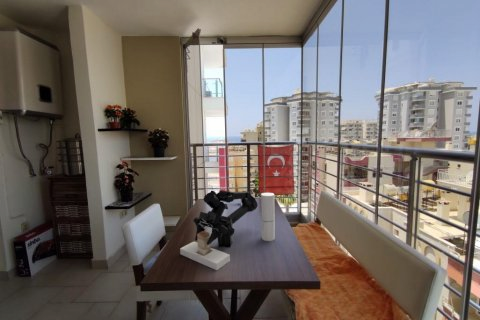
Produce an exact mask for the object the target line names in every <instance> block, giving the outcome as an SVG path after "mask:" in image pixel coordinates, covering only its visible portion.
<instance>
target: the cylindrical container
mask: <svg viewBox="0 0 480 320" xmlns="http://www.w3.org/2000/svg"><path fill="white" fill-rule="evenodd" d="M260 194H261V195H260V201H261V203H260V204H261V206H260V207H261V208H260V209H261V210H260V211H261V240H262V241H264V242H272V241H275V238H276V237H275V236H276V235H275V234H276V233H275V232H276V230H275V229H276V228H275V227H276V226H275V224H276V222H275V218H276V217H275V214H276V212H275V210H276V209H275V193H273V192H262V193H260Z"/></svg>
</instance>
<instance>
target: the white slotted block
mask: <svg viewBox="0 0 480 320" xmlns="http://www.w3.org/2000/svg"><path fill="white" fill-rule="evenodd" d="M179 249H180V250H179V253H180V255H181V256H183V257H186V258H188V259H190V260H192V261H195V262H196V263H197V262H198V263H199V264H202V265H204V266H205V267H209V268H211V269H212V270H215V271H218V270H220V269H221V268H222V267H224V266H226V264H228V263H230V261H231V255H230V254H229V253H226V252H224V251H221V250H218V249H216V248H212V247H210V253H208V254H207V255H205V256H203V255H200V254H198V241H191V242H190V243H188V244H186V245H184V246H182V247H181V248H179Z"/></svg>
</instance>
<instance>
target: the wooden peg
mask: <svg viewBox="0 0 480 320" xmlns="http://www.w3.org/2000/svg"><path fill="white" fill-rule="evenodd" d="M210 235H211V234H210V232H207V231H206V230H205V231H202V232H200V233H198V234H197V239H198V240H197V243H198V254H200V255H203V256H205V255H207V254H208V253H210V248H211V243H210V244H209V245H207V242H208V239H209V237H210Z"/></svg>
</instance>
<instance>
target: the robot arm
mask: <svg viewBox="0 0 480 320" xmlns="http://www.w3.org/2000/svg"><path fill="white" fill-rule="evenodd" d="M239 199H242V200H241V201H240V203H242V206H241V205H240V206H239V207H237V209H236V210H234V211H233V212H231V213H230V214H229V215H228V216H225V215H223V213H224V212H225V210H229V206H228V203H231V202H234V200H235V201H236V200H239ZM203 202H204V203H205V204H206V205H208V207H210V208H211V210H208V212H203V211H200V212H199V215H198V217H194V219H193V220H192V223H194V225H195V227H196V232H195V238H194V239H195V242H198V239H197V234H198V233H200V232H202V231H205V232H206V228H210V229H211V233H210V234H209V235H210V237H209V239H208V242H207V245H209V244H210V245H211V244H212V243H213V242H214V241H215V240H216V239H217V244H218V246H217V248H231V246H232V245H233V242H234V241H233V239H232V236H233V235H234V234H235V229H234V227H233V224H235V223H236V222H237V221H239V220H240V219H241V218H242V217H244V216H245V215H246V214H247V213H250V212H251V213H252V212H254V211H256V210H257V208H258V205H259V204H258V201H257V200H256V198H255V197H254V196H253V195H252V193H251V192H250V191H247V190H242V191H229V190H224V189H220V190H219V191H218V192H216V191H215V190H210V192H208V193H206V194H205V195H204V196H203ZM205 227H206V228H205Z"/></svg>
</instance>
